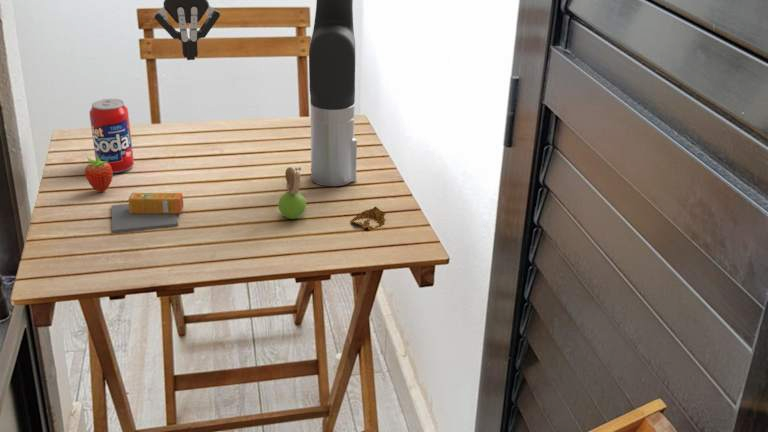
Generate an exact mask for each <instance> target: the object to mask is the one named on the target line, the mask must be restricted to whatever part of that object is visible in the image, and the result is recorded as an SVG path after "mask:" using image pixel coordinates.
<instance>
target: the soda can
mask: <svg viewBox="0 0 768 432" xmlns="http://www.w3.org/2000/svg"><path fill="white" fill-rule="evenodd" d="M124 103H125V102H124V101H123V100H121V99H119V98H104V99H99V100H96V101H94V102H92V103H91V108H90V110H89V112H88V113H89V119H90V127H91V135H92V142H93V150H94V157H95V158H94V159H95V160H96V159H97V158H96V156H98V157H99V158H100V160H101V161H107V160H108V161H107V163H109V164H110V166H111V167H112V170H113V174H119V173H120V174H121V173H124V172H127V171H128V170H130V169H131V168H132V167H133V166H134V164H135V163H134V161H135V159H134V151H133V145H132V144H133V142H132V134H131V127H130V125H131V124H130V117H129V110H128V108H127V106H126V105H125V104H124Z"/></svg>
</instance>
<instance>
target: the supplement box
mask: <svg viewBox="0 0 768 432" xmlns="http://www.w3.org/2000/svg"><path fill="white" fill-rule="evenodd" d="M128 204H129V210H130V213H139V214H140V213H141V214H158V213H176V214H182V211H183V209H184V197H183V192H132V193H131V194H130V196H129V198H128Z"/></svg>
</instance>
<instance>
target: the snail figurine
mask: <svg viewBox="0 0 768 432" xmlns="http://www.w3.org/2000/svg"><path fill="white" fill-rule="evenodd" d="M298 170H299V171H298ZM301 170H302V167H300V166H299V167H295V169H294V168H293V167H287V168H286V170H285V173H284V174H285V175H284V176H285V182H286V185H285V186H286V190H287V191H286V192H284V193H283V194H282V195H281V196H280V198H279V200H278V204H277V207H278V211H279V213H280V214H281V215H282V216H283V217H284V218H286V219H291V220H294V219H298V218H300V217H301V216H302V215H303V214H304V213H305V211H306V209H307V202H306V199H305V197H304V196H303V194H302V193H300V188H301V178H302V177H301V172H300V171H301Z"/></svg>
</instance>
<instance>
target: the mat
mask: <svg viewBox="0 0 768 432" xmlns="http://www.w3.org/2000/svg"><path fill="white" fill-rule="evenodd" d="M178 226H179V222H178V216H177V213H158V214H141V213H140V214H139V213H130V210H129V203H124V204H122V203H121V204H113V205H111V227H112V228H111V230H112V233H113V234H114V233H121V232H130V231H133V232H134V231H143V230H151V229H161V228H171V227H178Z"/></svg>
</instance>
